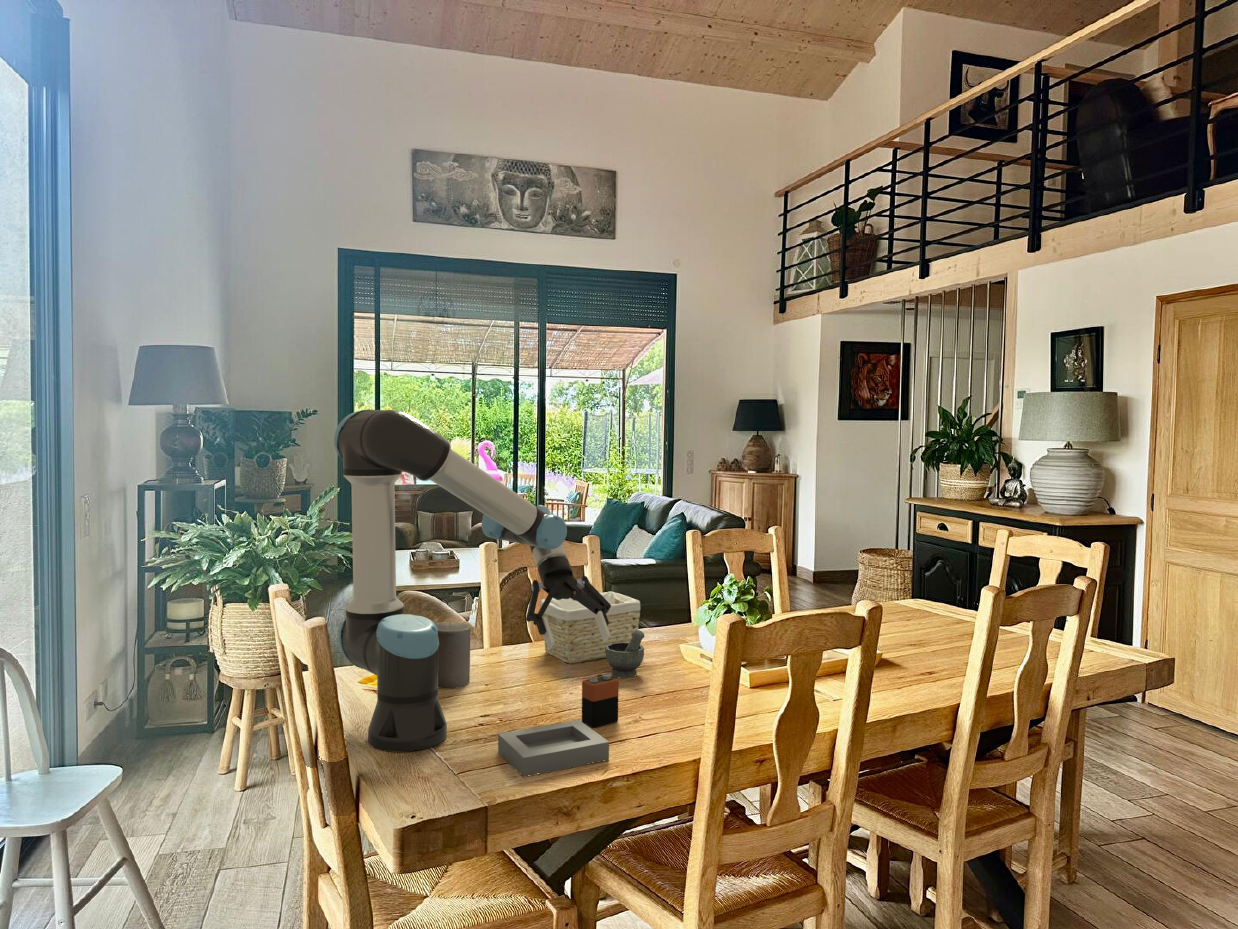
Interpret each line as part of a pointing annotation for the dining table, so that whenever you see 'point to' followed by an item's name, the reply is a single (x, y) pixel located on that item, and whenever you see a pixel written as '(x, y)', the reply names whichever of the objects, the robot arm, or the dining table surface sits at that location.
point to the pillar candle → (453, 654)
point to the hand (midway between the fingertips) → (579, 642)
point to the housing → (552, 747)
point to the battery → (600, 700)
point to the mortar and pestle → (625, 656)
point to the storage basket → (589, 627)
